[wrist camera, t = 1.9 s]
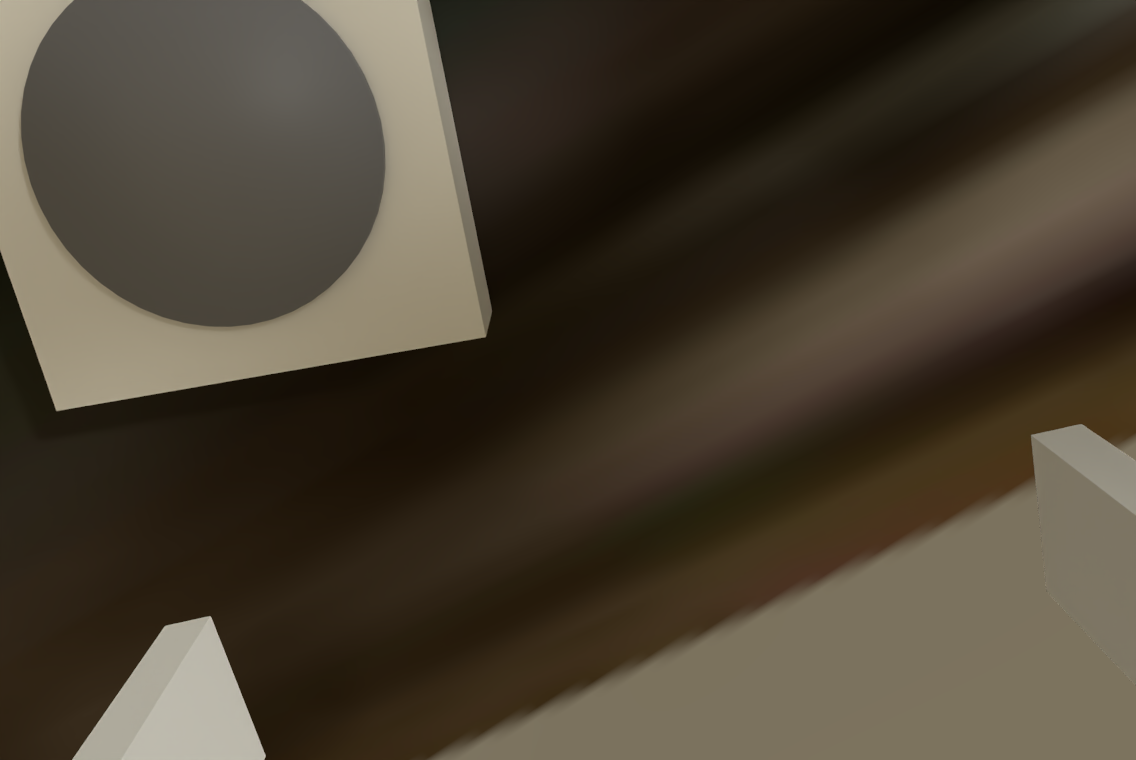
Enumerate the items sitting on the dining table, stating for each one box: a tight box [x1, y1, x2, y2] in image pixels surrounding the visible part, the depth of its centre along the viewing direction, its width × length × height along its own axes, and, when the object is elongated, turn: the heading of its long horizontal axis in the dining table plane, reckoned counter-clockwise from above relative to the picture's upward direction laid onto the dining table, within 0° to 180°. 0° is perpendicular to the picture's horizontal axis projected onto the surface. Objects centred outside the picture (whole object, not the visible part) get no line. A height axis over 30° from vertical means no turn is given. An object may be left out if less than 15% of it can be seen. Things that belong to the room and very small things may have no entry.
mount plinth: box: [0, 0, 492, 411], centre depth 35 cm, size 16×16×4 cm
